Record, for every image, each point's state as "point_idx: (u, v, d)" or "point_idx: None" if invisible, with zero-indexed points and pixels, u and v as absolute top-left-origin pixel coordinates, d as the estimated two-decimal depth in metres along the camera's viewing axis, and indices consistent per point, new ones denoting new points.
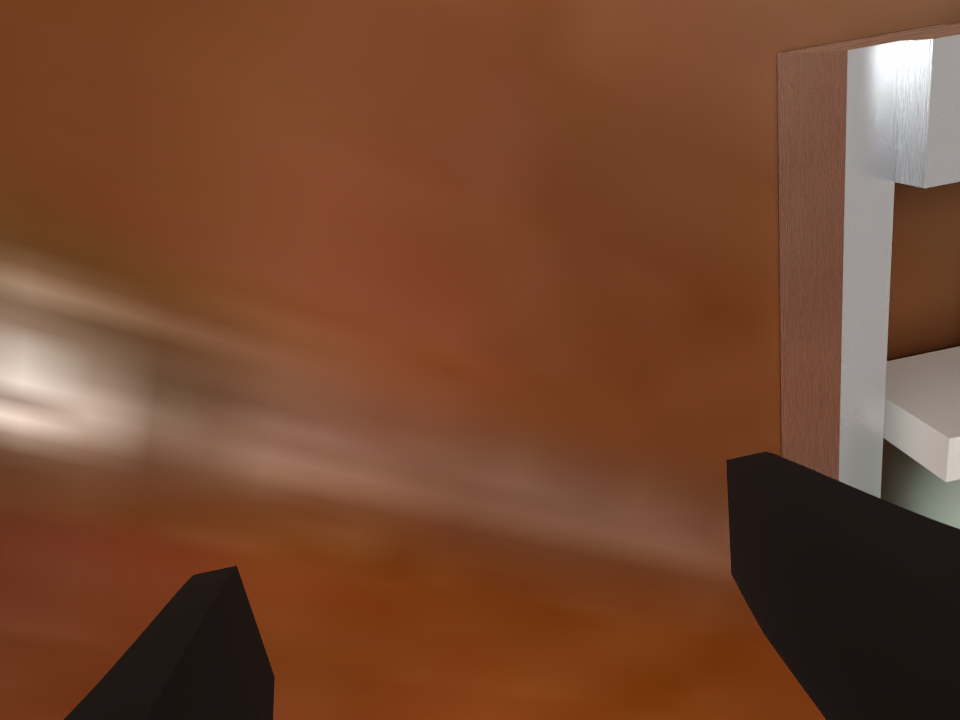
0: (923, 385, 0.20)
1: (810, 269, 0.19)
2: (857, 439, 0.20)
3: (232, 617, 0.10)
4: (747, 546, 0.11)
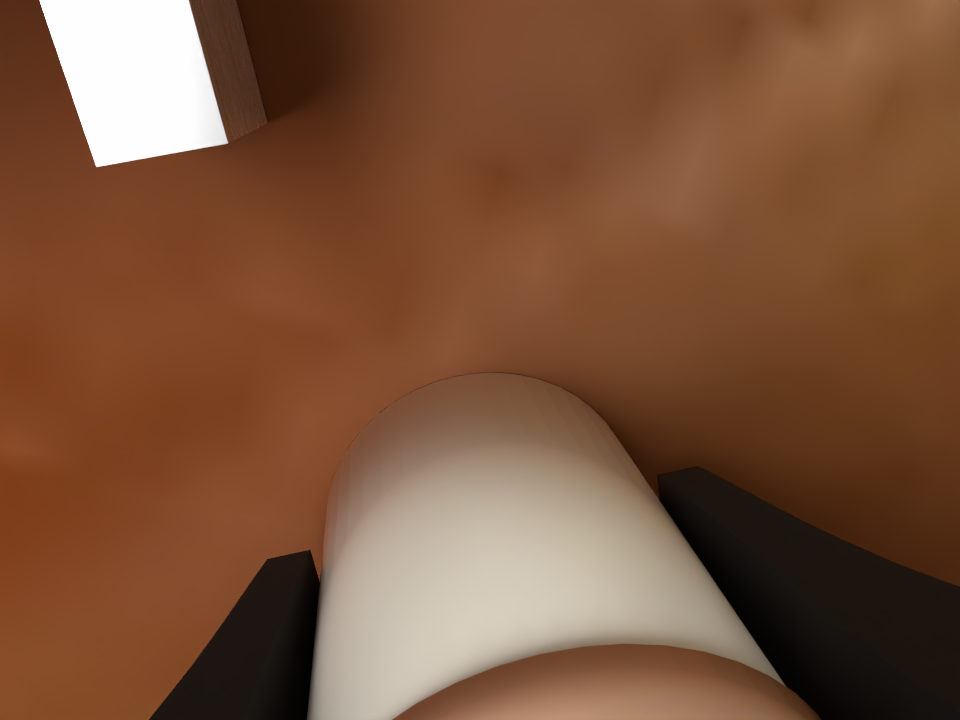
0: None
1: None
2: None
3: (310, 600, 0.10)
4: None
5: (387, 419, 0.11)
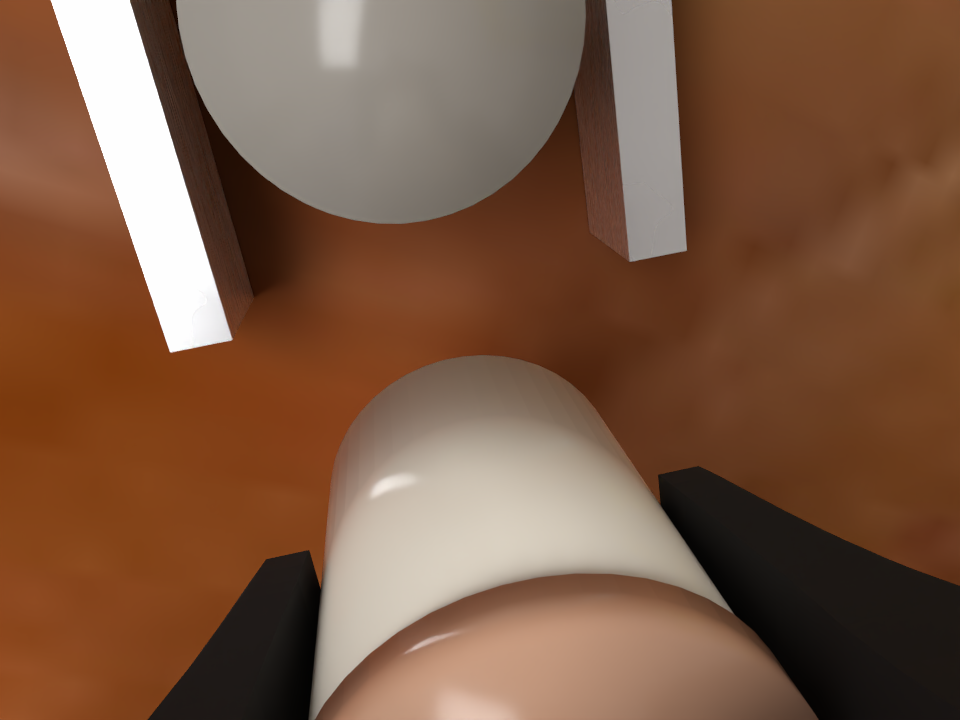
0: None
1: None
2: None
3: (309, 600, 0.10)
4: None
5: (381, 403, 0.12)
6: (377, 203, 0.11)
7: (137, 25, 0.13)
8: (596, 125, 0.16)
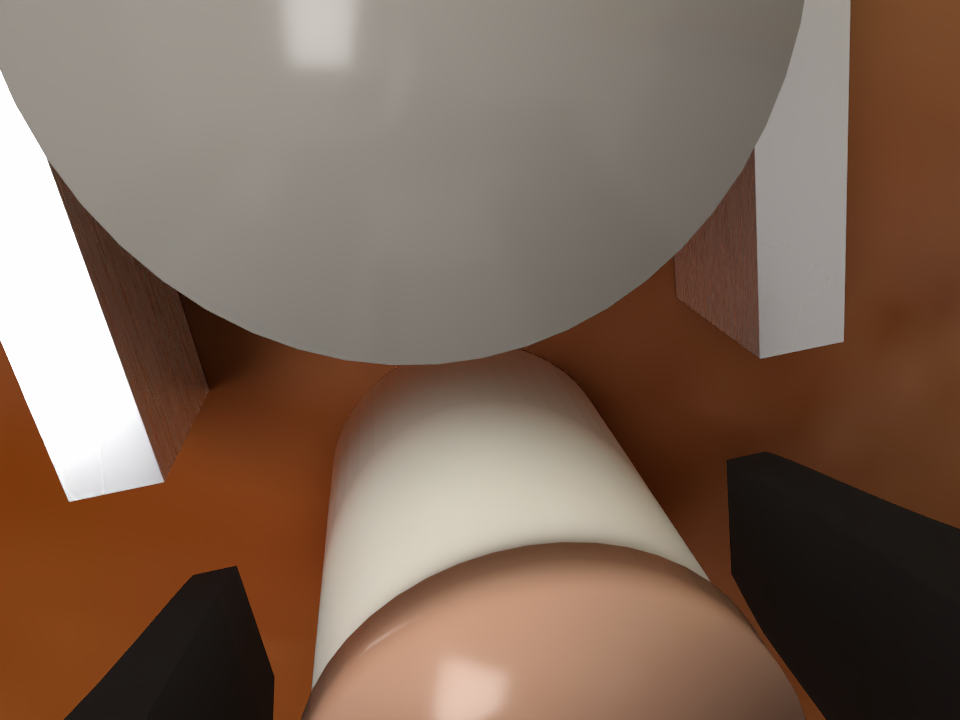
0: None
1: None
2: None
3: (232, 617, 0.10)
4: (747, 546, 0.11)
5: (380, 389, 0.13)
6: (390, 329, 0.06)
7: None
8: None
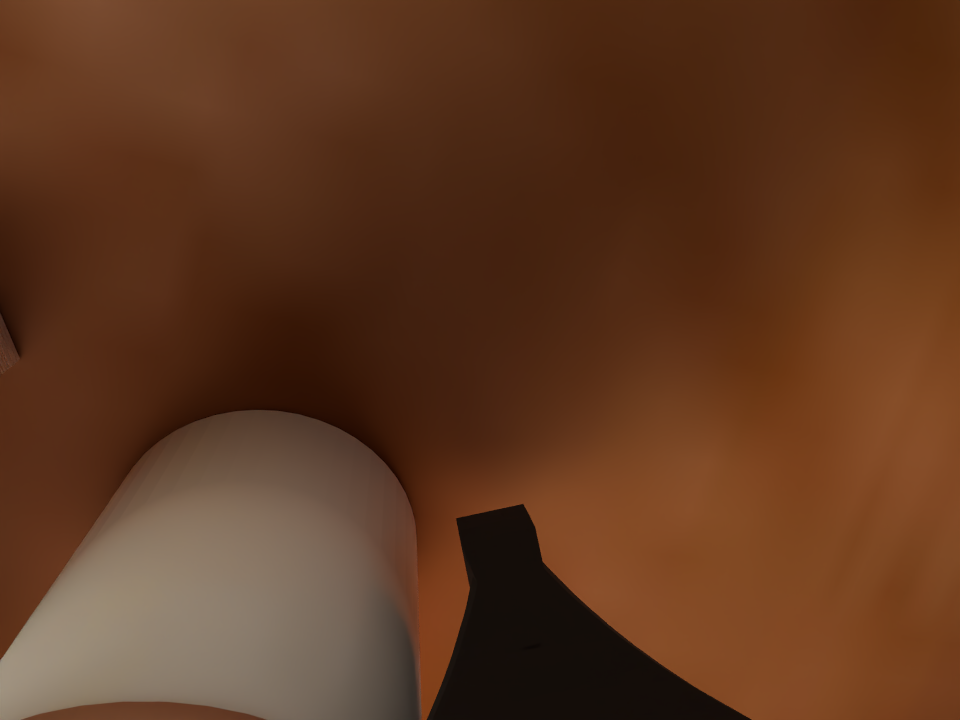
0: None
1: None
2: None
3: None
4: None
5: None
6: None
7: None
8: None
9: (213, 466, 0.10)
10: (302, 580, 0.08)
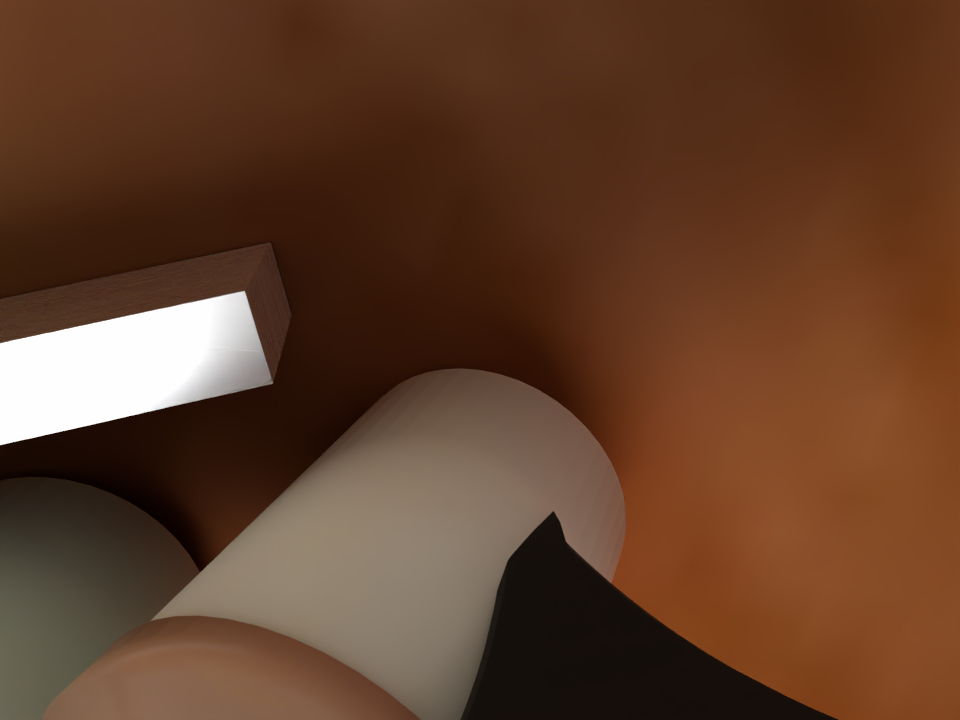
0: None
1: None
2: None
3: None
4: None
5: None
6: None
7: None
8: None
9: (421, 420, 0.11)
10: (458, 550, 0.09)
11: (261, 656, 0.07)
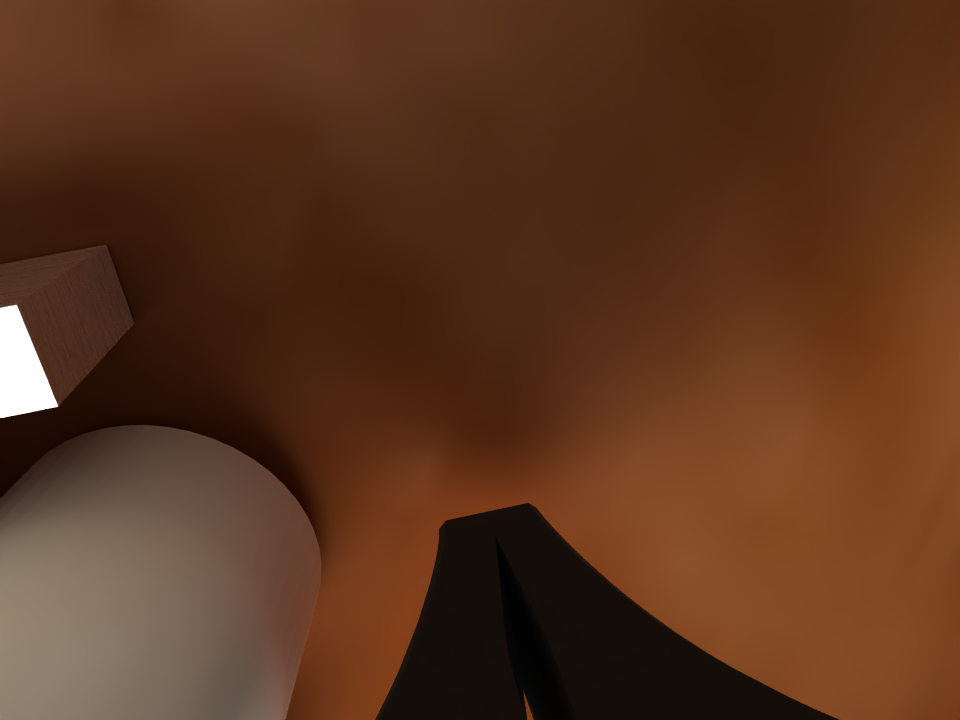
0: None
1: None
2: None
3: None
4: None
5: None
6: None
7: None
8: None
9: (71, 493, 0.10)
10: (116, 638, 0.08)
11: None
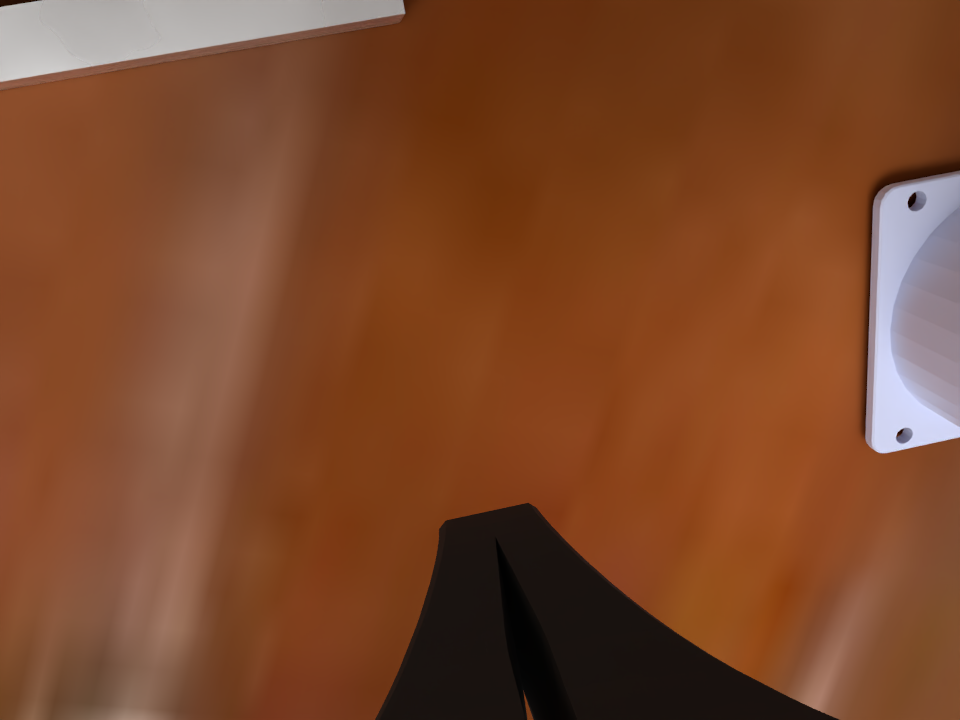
0: None
1: None
2: None
3: None
4: None
5: None
6: None
7: None
8: None
9: None
10: None
11: None
